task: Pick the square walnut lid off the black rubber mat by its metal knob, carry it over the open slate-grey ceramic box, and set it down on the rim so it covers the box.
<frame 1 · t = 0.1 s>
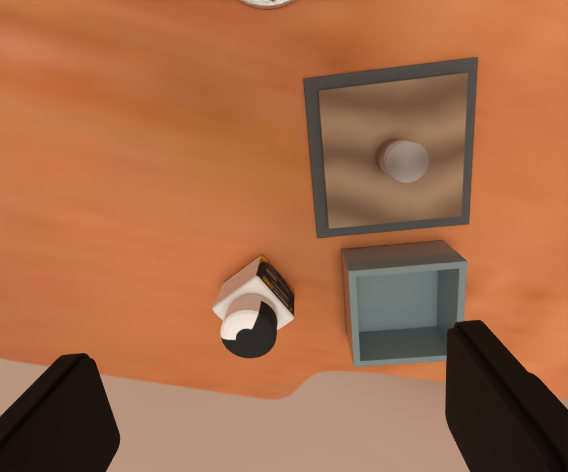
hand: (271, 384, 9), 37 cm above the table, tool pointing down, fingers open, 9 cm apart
rubber mat: (389, 154, 43), on the table
walnut lid: (398, 158, 39), on the rubber mat
medicine bottle: (259, 286, 50), on the table
grey ceramic box: (392, 289, 49), on the table
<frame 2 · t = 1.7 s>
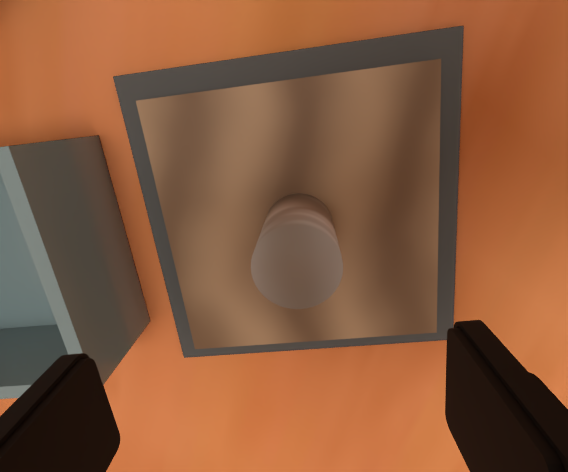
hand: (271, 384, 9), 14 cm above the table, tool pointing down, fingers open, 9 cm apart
rubber mat: (299, 218, 23), on the table
walnut lid: (298, 240, 19), on the rubber mat
grey ceramic box: (35, 245, 24), on the table
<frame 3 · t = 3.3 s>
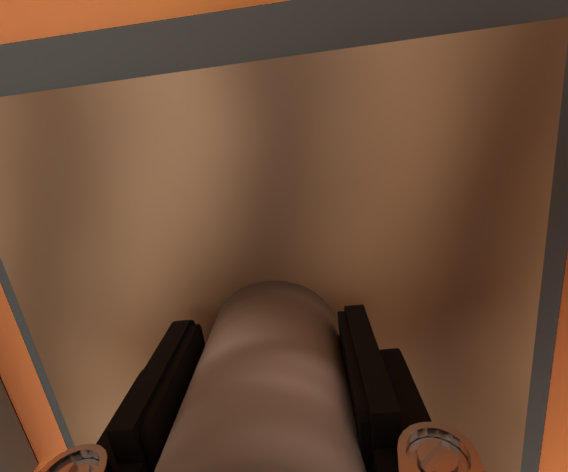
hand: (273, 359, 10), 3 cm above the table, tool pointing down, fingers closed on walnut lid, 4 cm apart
rubber mat: (278, 311, 13), on the table
walnut lid: (270, 392, 9), on the rubber mat, touching gripper
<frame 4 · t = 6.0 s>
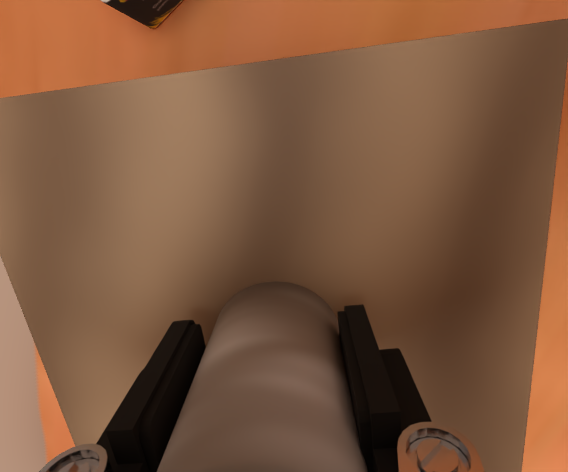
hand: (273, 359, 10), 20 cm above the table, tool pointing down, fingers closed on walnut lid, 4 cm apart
walnut lid: (272, 393, 9), point 21 cm above the table, touching gripper
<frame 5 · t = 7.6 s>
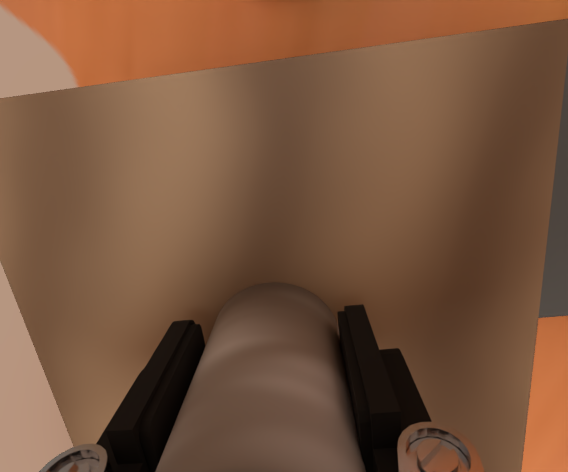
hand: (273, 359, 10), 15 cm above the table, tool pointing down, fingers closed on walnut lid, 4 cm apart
rubber mat: (564, 187, 24), on the table
walnut lid: (270, 394, 9), point 17 cm above the table, touching gripper
when the fingers open (11 cm above the table, at t = 8.7 s): walnut lid drops 1 cm, resting on grey ceramic box.
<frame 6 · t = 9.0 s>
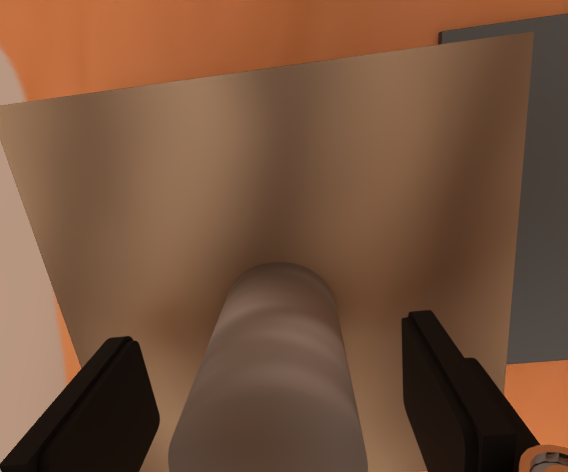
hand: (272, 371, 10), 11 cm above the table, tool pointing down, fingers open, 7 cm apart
walnut lid: (276, 355, 11), on the grey ceramic box, point 11 cm above the table
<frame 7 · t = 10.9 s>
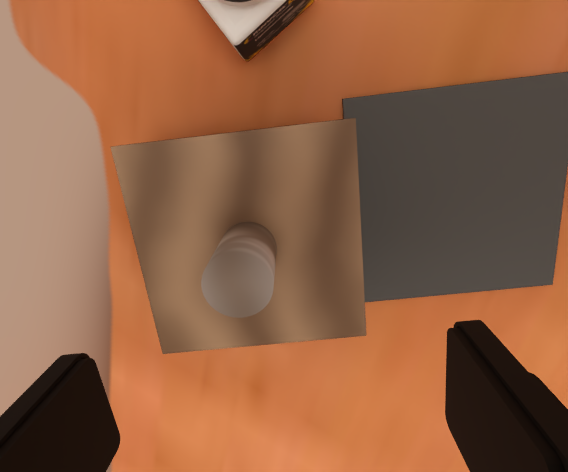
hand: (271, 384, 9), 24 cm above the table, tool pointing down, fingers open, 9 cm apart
rubber mat: (453, 197, 33), on the table
walnut lid: (244, 261, 23), on the grey ceramic box, point 11 cm above the table
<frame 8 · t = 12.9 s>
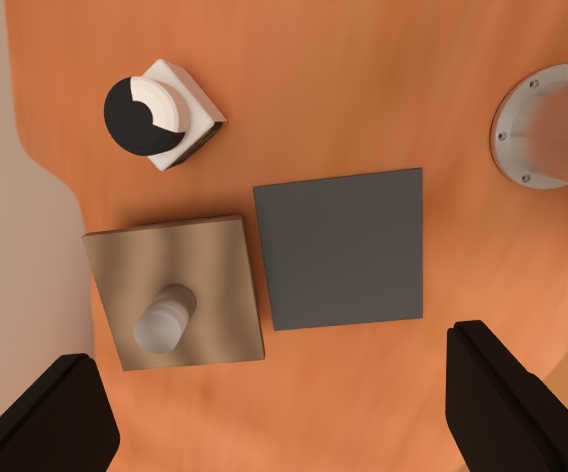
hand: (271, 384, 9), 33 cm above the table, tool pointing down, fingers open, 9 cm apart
rubber mat: (341, 255, 44), on the table
walnut lid: (169, 313, 35), on the grey ceramic box, point 11 cm above the table
medicine bottle: (184, 117, 40), on the table
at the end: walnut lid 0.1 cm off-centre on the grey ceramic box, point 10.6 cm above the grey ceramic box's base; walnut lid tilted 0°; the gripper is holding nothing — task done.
